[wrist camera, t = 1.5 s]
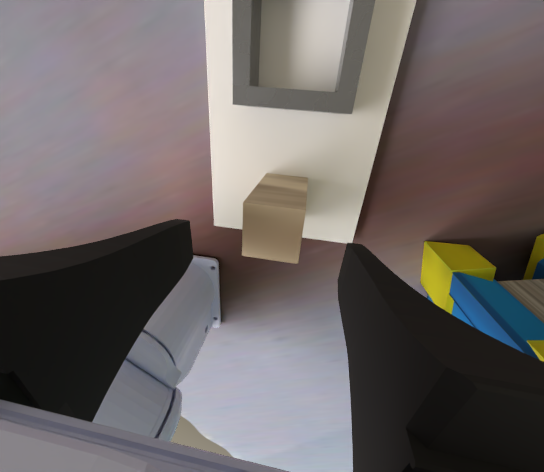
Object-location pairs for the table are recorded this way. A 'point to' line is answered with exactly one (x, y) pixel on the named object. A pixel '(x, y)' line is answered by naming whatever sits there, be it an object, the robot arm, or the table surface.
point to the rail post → (275, 218)
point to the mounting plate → (301, 124)
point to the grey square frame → (337, 102)
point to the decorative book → (488, 294)
